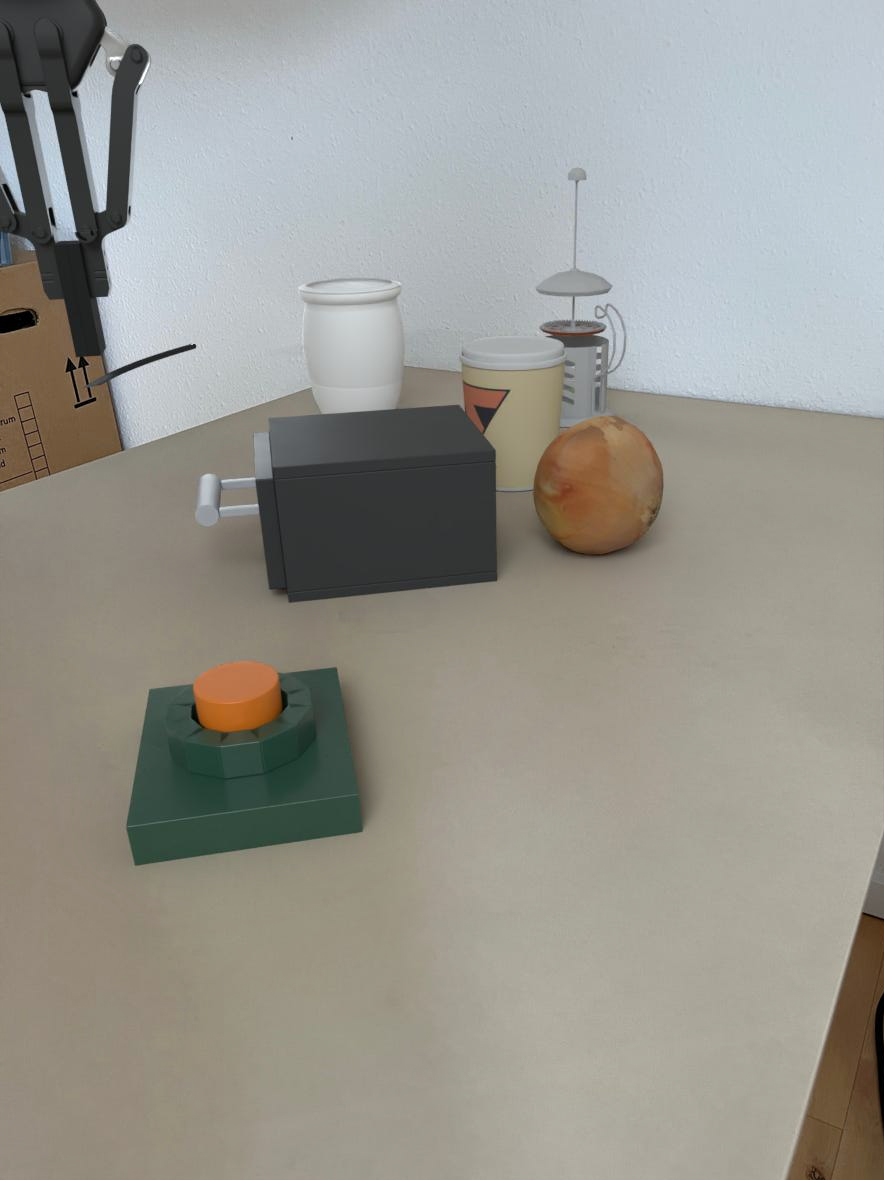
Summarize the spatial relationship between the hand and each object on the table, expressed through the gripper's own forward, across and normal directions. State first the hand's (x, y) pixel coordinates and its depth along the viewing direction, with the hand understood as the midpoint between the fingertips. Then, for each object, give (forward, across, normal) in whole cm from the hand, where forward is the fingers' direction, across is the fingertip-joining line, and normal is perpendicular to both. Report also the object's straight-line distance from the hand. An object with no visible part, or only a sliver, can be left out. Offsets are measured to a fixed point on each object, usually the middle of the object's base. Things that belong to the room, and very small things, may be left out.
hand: (91, 352), depth 62 cm
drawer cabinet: (+16, +18, +1) cm, 24 cm away
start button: (+13, +8, -25) cm, 29 cm away
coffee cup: (+17, +32, +17) cm, 39 cm away
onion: (+17, +34, -1) cm, 38 cm away
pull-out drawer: (+16, +14, +1) cm, 21 cm away
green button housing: (+16, +8, -25) cm, 31 cm away
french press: (+17, +44, +36) cm, 59 cm away
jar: (+16, +20, +37) cm, 45 cm away
